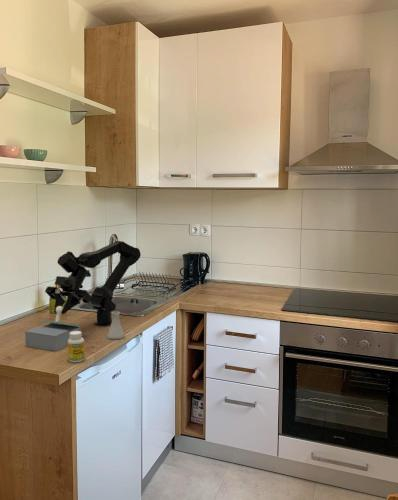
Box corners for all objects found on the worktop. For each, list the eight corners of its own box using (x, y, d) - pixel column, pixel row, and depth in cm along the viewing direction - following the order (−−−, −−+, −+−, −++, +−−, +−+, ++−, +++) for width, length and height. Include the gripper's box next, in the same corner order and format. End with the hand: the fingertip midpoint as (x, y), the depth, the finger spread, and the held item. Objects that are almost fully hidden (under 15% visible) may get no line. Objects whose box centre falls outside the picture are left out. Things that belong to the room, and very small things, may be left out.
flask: (126, 334, 182) (126, 310, 181) (124, 340, 175) (123, 315, 174) (108, 334, 182) (107, 310, 181) (105, 340, 175) (104, 315, 174)
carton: (51, 335, 181) (51, 321, 180) (80, 339, 176) (80, 325, 175) (25, 346, 168) (25, 331, 167) (56, 351, 163) (55, 336, 162)
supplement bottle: (81, 356, 158) (80, 329, 157) (87, 360, 154) (86, 333, 153) (66, 359, 155) (65, 332, 154) (71, 364, 151) (70, 336, 150)
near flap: (51, 322, 180) (54, 306, 182) (79, 326, 175) (83, 309, 176) (40, 320, 174) (43, 303, 176) (69, 325, 169) (73, 307, 170)
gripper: (47, 266, 180) (28, 299, 171) (86, 269, 173) (68, 304, 164) (61, 282, 188) (43, 314, 179) (98, 285, 181) (82, 319, 172)
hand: (58, 313), depth 174 cm, fingers closed on near flap, 3 cm apart
